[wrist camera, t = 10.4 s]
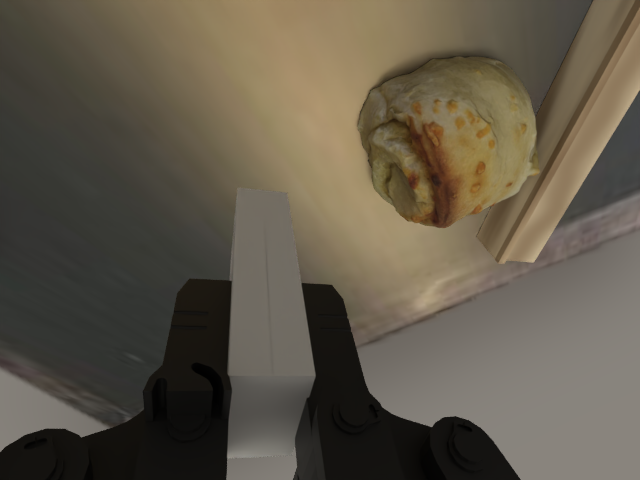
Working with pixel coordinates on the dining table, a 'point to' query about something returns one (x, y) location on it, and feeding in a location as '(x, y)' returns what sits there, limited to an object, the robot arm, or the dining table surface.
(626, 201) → the dining table surface
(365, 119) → the pastry
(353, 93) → the dining table surface
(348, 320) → the robot arm
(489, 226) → the wooden block
